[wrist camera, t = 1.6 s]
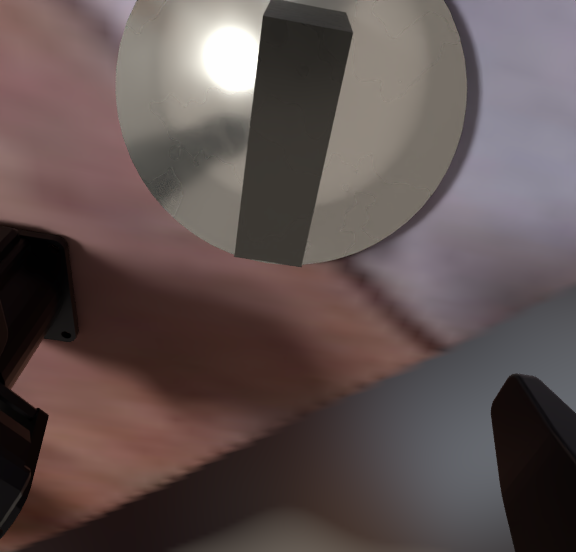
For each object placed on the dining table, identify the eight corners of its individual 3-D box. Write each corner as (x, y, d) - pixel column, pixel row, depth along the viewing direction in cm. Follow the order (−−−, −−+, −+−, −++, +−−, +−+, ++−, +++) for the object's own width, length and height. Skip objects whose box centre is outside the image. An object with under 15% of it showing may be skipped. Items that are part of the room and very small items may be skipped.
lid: (400, 269, 24) (417, 336, 20) (130, 226, 23) (94, 287, 19) (518, -49, 16) (581, -37, 12) (118, -130, 15) (54, -145, 11)
